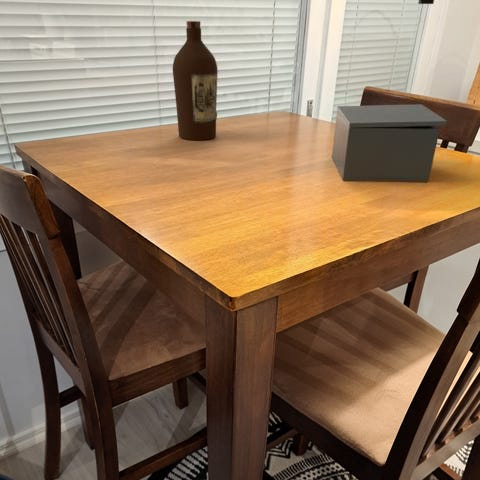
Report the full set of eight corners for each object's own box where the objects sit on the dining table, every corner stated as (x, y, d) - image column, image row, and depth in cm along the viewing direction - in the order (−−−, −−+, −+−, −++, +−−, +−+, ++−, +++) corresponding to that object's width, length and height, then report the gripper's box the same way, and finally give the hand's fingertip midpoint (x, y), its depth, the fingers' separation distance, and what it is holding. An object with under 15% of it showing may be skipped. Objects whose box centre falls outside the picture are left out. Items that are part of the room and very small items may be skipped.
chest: (406, 158, 110) (415, 111, 105) (428, 182, 96) (440, 129, 91) (331, 157, 110) (336, 110, 105) (342, 180, 96) (349, 127, 91)
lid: (420, 108, 104) (421, 104, 104) (446, 125, 90) (447, 120, 90) (336, 110, 105) (337, 106, 104) (349, 127, 91) (349, 123, 90)
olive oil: (168, 134, 126) (161, 20, 113) (202, 129, 132) (199, 19, 118) (191, 143, 119) (186, 22, 106) (226, 137, 125) (226, 21, 111)
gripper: (421, -142, 96) (399, 3, 109) (444, -160, 85) (417, 4, 98) (460, -142, 96) (433, 3, 109) (488, -159, 85) (455, 4, 98)
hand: (425, 3), depth 103 cm, fingers closed
